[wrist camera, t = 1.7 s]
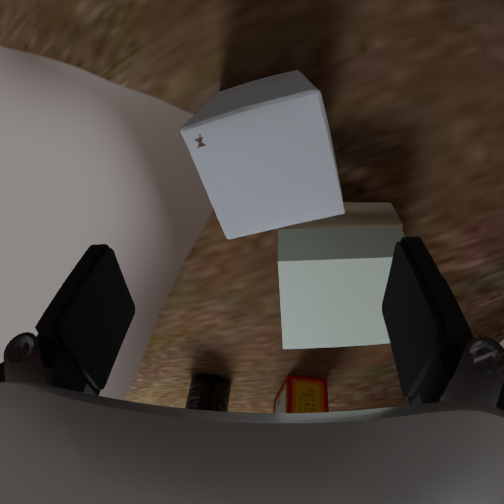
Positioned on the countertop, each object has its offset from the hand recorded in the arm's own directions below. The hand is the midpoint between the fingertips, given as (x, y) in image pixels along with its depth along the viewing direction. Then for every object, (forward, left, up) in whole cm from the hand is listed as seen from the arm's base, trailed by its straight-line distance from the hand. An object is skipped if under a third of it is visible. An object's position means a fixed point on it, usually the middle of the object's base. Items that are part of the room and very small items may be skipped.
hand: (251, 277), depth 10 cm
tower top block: (+14, +6, -16) cm, 22 cm away
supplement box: (0, 0, -21) cm, 21 cm away
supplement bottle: (+42, -12, -21) cm, 48 cm away
